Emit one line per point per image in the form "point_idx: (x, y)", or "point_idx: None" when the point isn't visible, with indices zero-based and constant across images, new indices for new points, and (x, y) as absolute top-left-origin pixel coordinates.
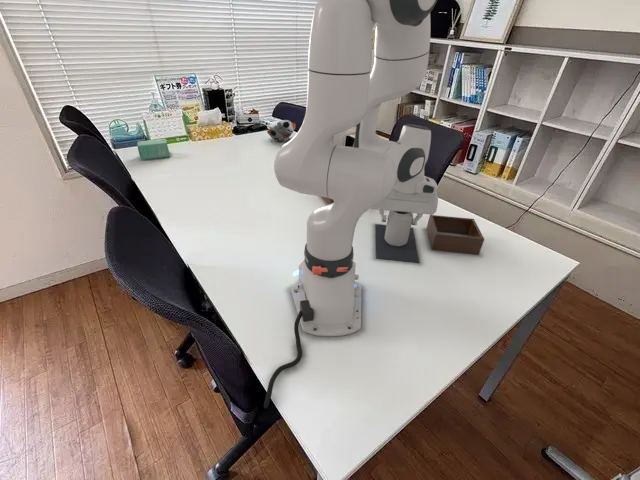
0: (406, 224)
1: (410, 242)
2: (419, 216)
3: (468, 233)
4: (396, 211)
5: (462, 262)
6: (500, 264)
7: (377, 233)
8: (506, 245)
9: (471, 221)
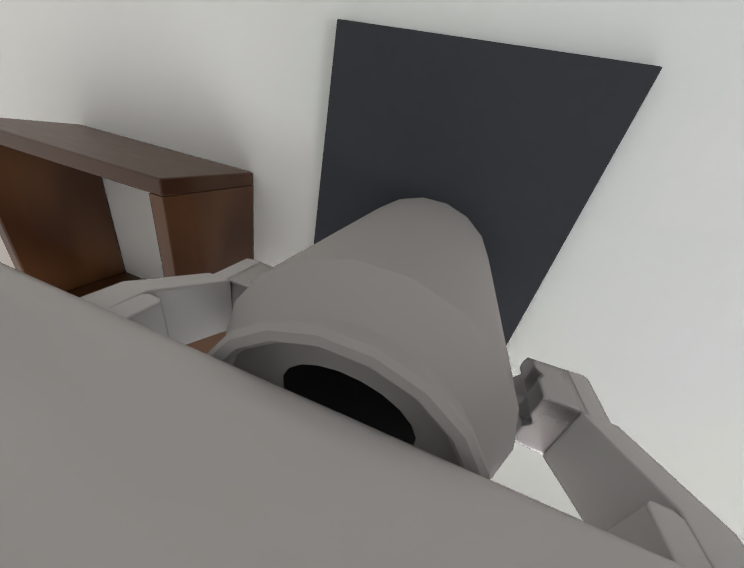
0: (333, 238)
1: None
2: (151, 294)
3: (111, 268)
4: None
5: (131, 51)
6: (6, 43)
7: None
8: None
9: None
